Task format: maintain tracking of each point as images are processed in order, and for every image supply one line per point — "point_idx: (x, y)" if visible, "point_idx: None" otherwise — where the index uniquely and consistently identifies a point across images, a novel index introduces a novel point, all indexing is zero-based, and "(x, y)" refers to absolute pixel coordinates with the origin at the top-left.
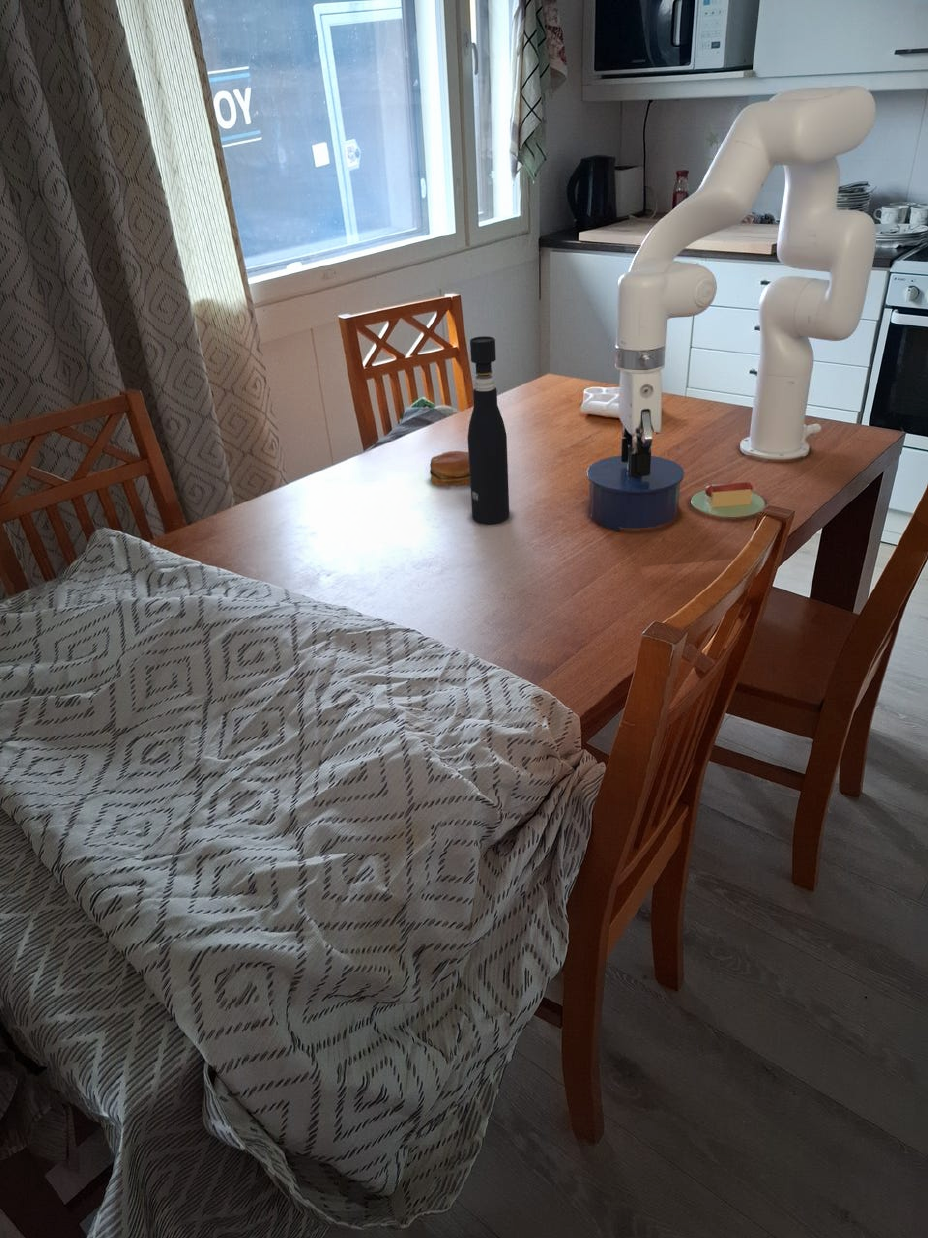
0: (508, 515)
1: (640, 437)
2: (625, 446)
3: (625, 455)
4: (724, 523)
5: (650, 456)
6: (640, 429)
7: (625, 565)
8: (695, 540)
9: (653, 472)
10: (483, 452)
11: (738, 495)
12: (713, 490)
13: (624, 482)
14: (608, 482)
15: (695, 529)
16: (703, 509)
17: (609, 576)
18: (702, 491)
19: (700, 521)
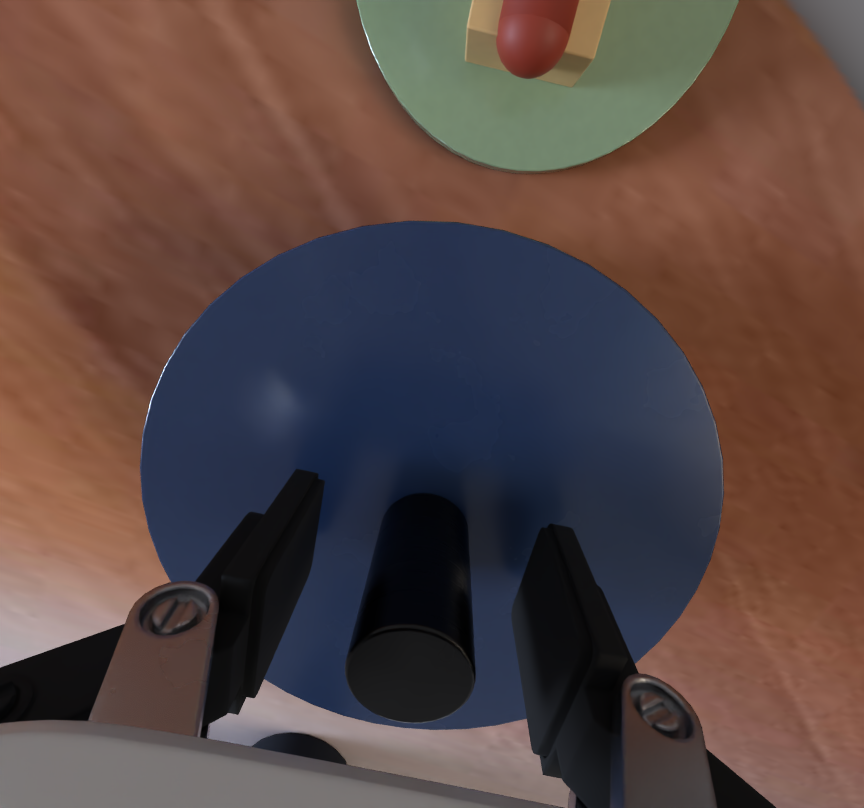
0: (321, 751)
1: (232, 581)
2: (274, 644)
3: (299, 588)
4: (712, 108)
5: (613, 625)
6: (206, 674)
7: (771, 604)
8: (769, 324)
9: (484, 446)
10: None
11: None
12: (568, 31)
13: None
14: (500, 687)
15: (686, 272)
16: (572, 145)
17: (798, 662)
18: (369, 19)
19: (632, 208)
